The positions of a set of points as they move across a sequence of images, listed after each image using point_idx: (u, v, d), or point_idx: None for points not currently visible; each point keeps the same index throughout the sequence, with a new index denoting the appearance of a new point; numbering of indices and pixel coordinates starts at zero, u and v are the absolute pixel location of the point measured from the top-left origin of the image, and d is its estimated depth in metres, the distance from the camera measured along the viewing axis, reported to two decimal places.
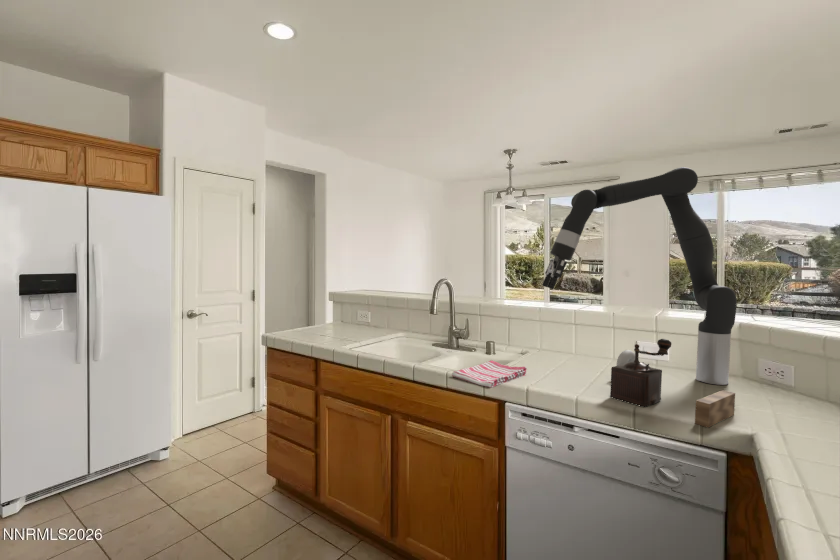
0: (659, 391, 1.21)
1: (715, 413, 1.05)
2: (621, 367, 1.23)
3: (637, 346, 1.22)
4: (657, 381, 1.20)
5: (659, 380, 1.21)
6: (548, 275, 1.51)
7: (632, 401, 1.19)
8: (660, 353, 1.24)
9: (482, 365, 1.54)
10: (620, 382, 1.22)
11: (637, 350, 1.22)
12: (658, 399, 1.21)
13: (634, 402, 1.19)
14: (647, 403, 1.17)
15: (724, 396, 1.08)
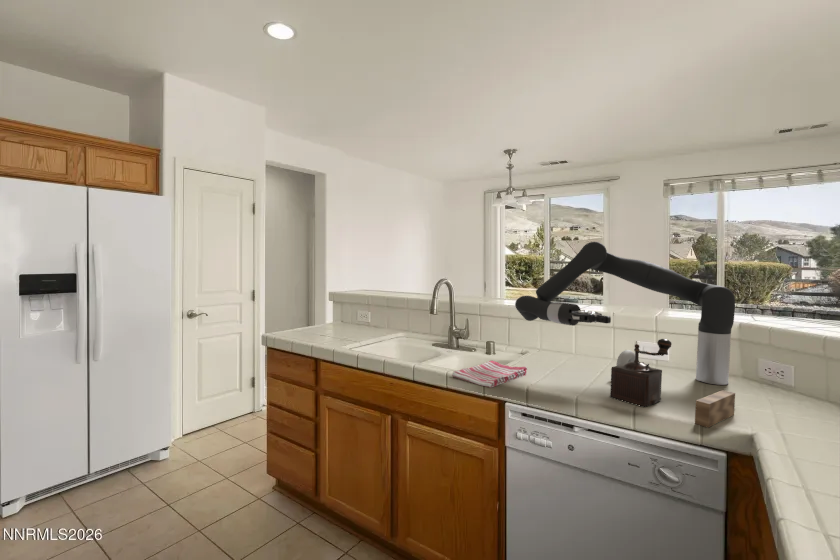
0: (659, 391, 1.21)
1: (715, 413, 1.05)
2: (621, 367, 1.23)
3: (637, 346, 1.22)
4: (657, 381, 1.20)
5: (659, 380, 1.21)
6: None
7: (632, 401, 1.19)
8: (660, 353, 1.24)
9: (482, 365, 1.54)
10: (620, 382, 1.22)
11: (637, 350, 1.22)
12: (658, 399, 1.21)
13: (634, 402, 1.19)
14: (647, 403, 1.17)
15: (724, 396, 1.08)
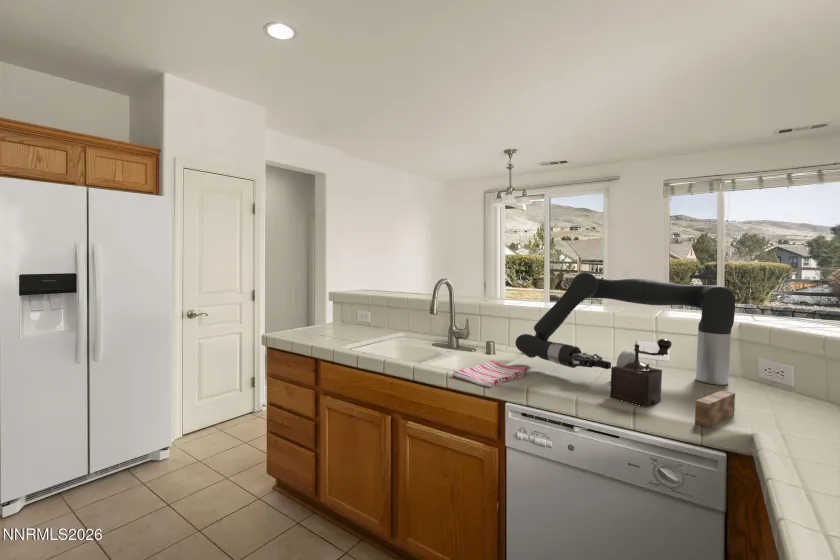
0: (659, 391, 1.21)
1: (715, 413, 1.05)
2: (621, 367, 1.23)
3: (637, 346, 1.22)
4: (657, 381, 1.20)
5: (659, 380, 1.21)
6: None
7: (632, 401, 1.19)
8: (660, 353, 1.24)
9: (483, 365, 1.54)
10: (620, 382, 1.22)
11: (637, 350, 1.22)
12: (658, 399, 1.21)
13: (634, 402, 1.19)
14: (647, 403, 1.17)
15: (724, 396, 1.08)
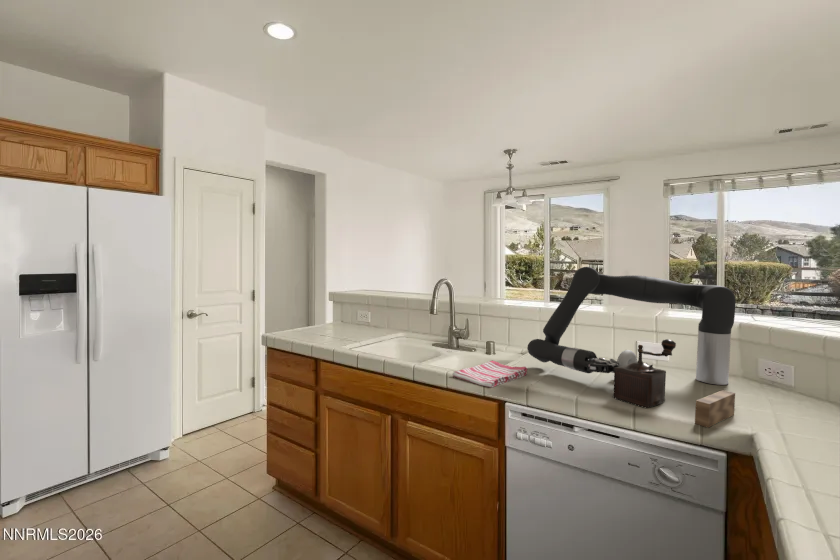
0: (663, 392, 1.20)
1: (715, 413, 1.05)
2: (624, 368, 1.23)
3: (640, 346, 1.21)
4: (661, 382, 1.19)
5: (663, 381, 1.20)
6: None
7: (635, 402, 1.18)
8: (664, 354, 1.23)
9: (483, 365, 1.54)
10: (623, 383, 1.21)
11: (640, 351, 1.21)
12: (662, 400, 1.20)
13: (637, 403, 1.18)
14: (650, 404, 1.16)
15: (724, 396, 1.08)
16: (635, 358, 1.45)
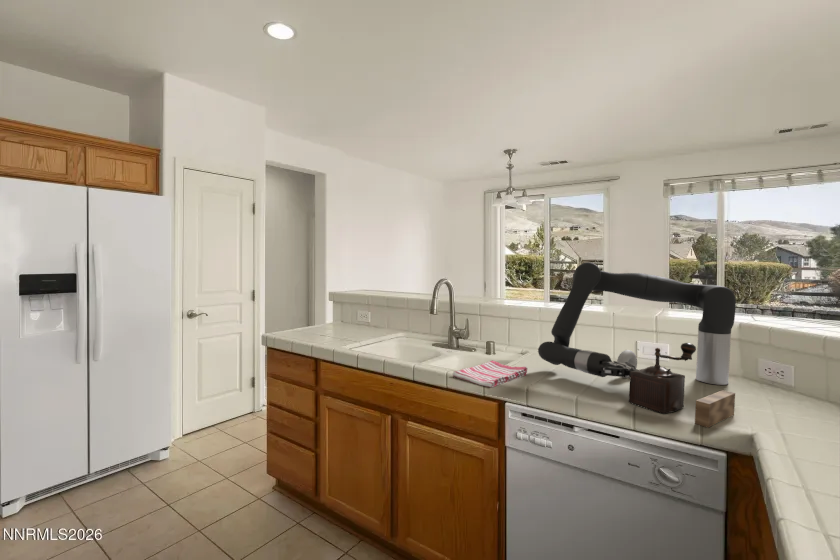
0: (681, 398, 1.15)
1: (715, 413, 1.05)
2: (640, 371, 1.19)
3: (658, 350, 1.17)
4: (679, 387, 1.14)
5: (681, 386, 1.15)
6: None
7: (651, 407, 1.14)
8: (683, 358, 1.18)
9: (483, 365, 1.54)
10: (639, 387, 1.17)
11: (658, 354, 1.17)
12: (680, 406, 1.15)
13: (653, 408, 1.14)
14: (667, 409, 1.12)
15: (724, 396, 1.08)
16: (635, 358, 1.45)
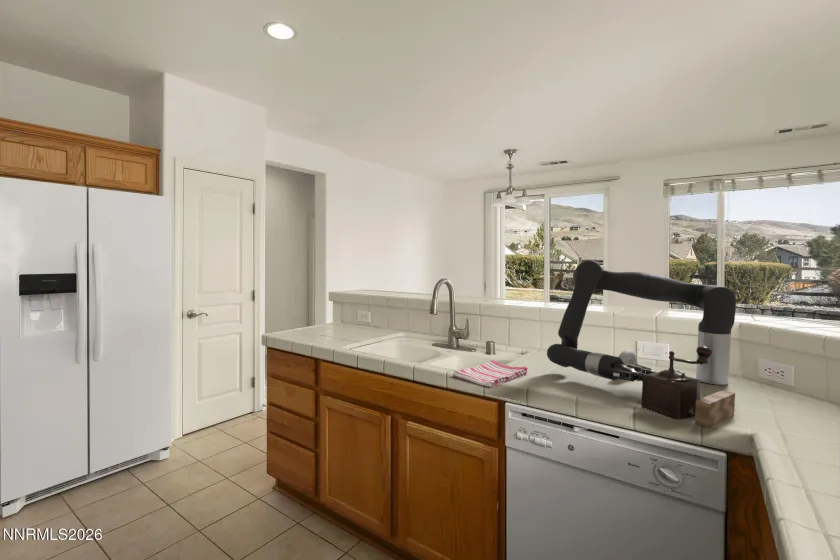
0: None
1: (715, 413, 1.05)
2: (654, 375, 1.15)
3: (672, 353, 1.13)
4: (694, 392, 1.11)
5: (697, 391, 1.11)
6: None
7: (664, 412, 1.11)
8: (699, 362, 1.14)
9: (483, 365, 1.54)
10: (652, 391, 1.14)
11: (672, 357, 1.13)
12: None
13: (666, 413, 1.10)
14: (681, 415, 1.08)
15: (724, 396, 1.08)
16: (635, 358, 1.45)
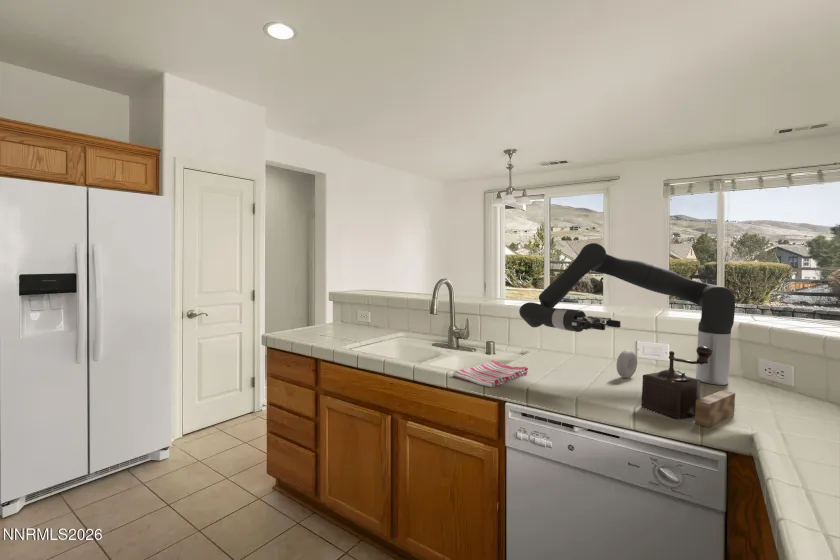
0: None
1: (715, 413, 1.05)
2: (654, 375, 1.15)
3: (672, 353, 1.13)
4: (694, 392, 1.11)
5: (697, 391, 1.11)
6: (607, 324, 1.38)
7: (664, 412, 1.11)
8: (699, 362, 1.14)
9: (483, 365, 1.54)
10: (652, 391, 1.14)
11: (672, 357, 1.13)
12: None
13: (666, 413, 1.10)
14: (681, 415, 1.08)
15: (724, 396, 1.08)
16: (635, 358, 1.45)
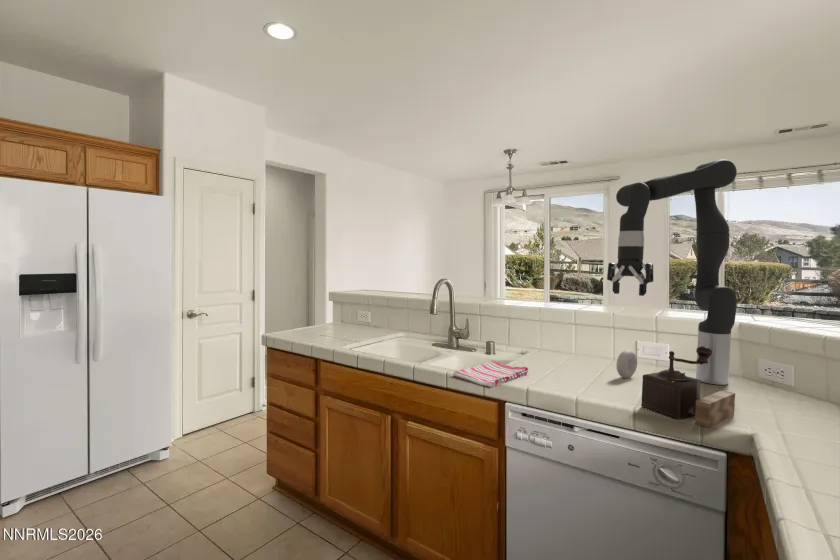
0: None
1: (715, 413, 1.05)
2: (654, 375, 1.15)
3: (672, 353, 1.13)
4: (694, 392, 1.11)
5: (697, 391, 1.11)
6: (616, 281, 1.39)
7: (664, 412, 1.11)
8: (699, 362, 1.14)
9: (484, 365, 1.54)
10: (652, 391, 1.14)
11: (672, 357, 1.13)
12: None
13: (666, 413, 1.10)
14: (681, 415, 1.08)
15: (724, 396, 1.08)
16: (635, 358, 1.45)
